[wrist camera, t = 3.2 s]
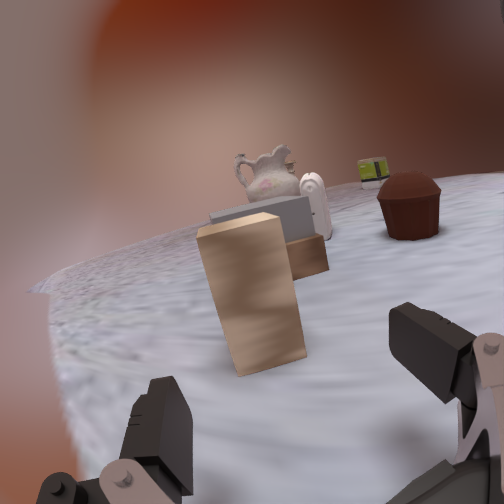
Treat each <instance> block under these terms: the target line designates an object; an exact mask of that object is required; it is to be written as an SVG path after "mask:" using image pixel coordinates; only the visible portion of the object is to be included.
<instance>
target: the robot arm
mask: <svg viewBox="0 0 504 504" xmlns="http://www.w3.org/2000/svg"><path fill="white" fill-rule="evenodd" d="M500 7H501V14H502V18H503V22H504V0H500ZM389 347H390V351H391V353H392V355H393V356H394V358H395V359H396V360H398V361H399V362H400V363H401V364H402V365H403V366H404V367H405V368H406V369H407V370H409V371H410V372H411V373H412V374H413V375H414V376H415V377H416V378H417V379H418V380H420V381H421V382H422V383H423V384H424V385H425V386H426V387H427V388H428V389H429V390H430V391H432V392H433V393H434V394H435V395H436V396H437V397H438V398H439V399H440V400H441V401H442V402H443V403H445V404H447V403H448V402H449V401H451V400H452V399H454V398H455V397H457V398H458V399H459V401H458V404H457V411H458V450H457V454H456V457H455V461H454V464H453V465H450V464H449V462H448V461H447V460H446V459H445V460H443V461H442V462H441V463H439V464H438V465H436V466H435V467H433V468H432V469H430V470H429V471H427V472H426V473H424V474H423V475H421V476H419V477H418V478H416V479H415V480H413V481H412V482H411V483H410V484H409V485H407V486H406V487H405V488H404V489H403V490H402V491H401V492H399V493H398V494H397V495H396V496H395V497H393V498H392V499H391V500H390V501H389V502H387V503H386V504H504V336H502V335H500V334H497V333H485V334H482V335H480V336H478V337H477V336H475V335H473V334H472V333H470V332H468V331H467V330H465V329H463V328H462V327H460V326H458V325H456V324H455V323H453V322H452V323H451V321H449V320H448V319H446V318H443V317H442V316H441V315H439V314H437V313H435V312H433V311H429V310H425V309H420V308H419V307H417V306H415V305H413V304H412V303H410V302H406V303H404V304H402V305H399V306H397V307H395V308H393V309H391V310H390V312H389ZM130 417H131V418H129V422H128V427H127V429H126V433H125V437H124V441H123V445H122V449H121V453H120V457H119V460H115V461H113V462H111V463H109V464H108V465H107V466H106V467H105V468H104V469H103V470H102V472H101V474H100V478H96V479H91V480H86V481H81V482H77V481H76V480H75V479H74V478H72V476H71V475H69V474H67V473H64V472H58V473H54V474H52V475H50V476H48V477H47V478H46V479H45V480H44V482H43V483H42V486H41V489H40V492H39V495H38V499H37V502H36V504H182V496H191V495H193V419H192V414H191V411H190V408H189V406H188V404H187V402H186V400H185V398H184V396H183V394H182V392H181V390H180V388H179V386H178V384H177V382H176V380H175V379H174V377H173V376H167V377H162V378H156V379H152V380H151V381H150V384H149V388H148V392H147V394H144V395H141V396H140V397H139V398H138V400H137V401H136V402H135V403H134V405H133V407H132V411H131V415H130Z"/></svg>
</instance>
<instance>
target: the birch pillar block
mask: <svg viewBox="0 0 504 504" xmlns="http://www.w3.org/2000/svg"><path fill="white" fill-rule="evenodd" d="M196 240H197V243H198V247H199V251H200V254H201V258H202V261H203V265H204V268H205V272H206V275H207V279H208V282H209V286H210V289H211V292H212V296H213V299H214V302H215V306H216V309H217V312H218V316H219V319H220V322H221V325H222V328H223V331H224V335H225V338H226V341H227V344H228V347H229V350H230V353H231V356H232V359H233V362H234V365H235V368H236V371H237V374H238V377H241V376H245V375H248V374H252V373H256V372H259V371H263V370H267V369H270V368H273V367H277V366H280V365H283V364H287V363H290V362H293V361H296V360H299V359H302V358H305V357H307V354H306V348H305V343H304V337H303V331H302V326H301V320H300V315H299V310H298V304H297V299H296V294H295V289H294V283H293V278H292V273H291V268H290V263H289V259H288V254H287V249H286V244H285V239H284V235H283V230H282V225H281V221H280V217H279V216H275V215H272V214H268V213H265V212H262V213H258V214H254V215H249V216H245V217H241V218H237V219H233V220H230V221H226V222H222V223H218V224H214V225H210V226H206V227H203V228H199V231H198V234H197V237H196Z"/></svg>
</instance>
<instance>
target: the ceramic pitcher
mask: <svg viewBox="0 0 504 504" xmlns="http://www.w3.org/2000/svg"><path fill="white" fill-rule="evenodd" d="M290 153H291V150H290V148H289V147H287V146H286V145H279V146H278V147H276V148H274V149H273V152H272V153H271V154H264V155H261V156H259V158H258V159H257V160H256V161H253V160H252V161H249V160H247V158H246V157H245V156H244V155H245V154H238V155H237V157H236V158H235V162H234V170H235V174H236V177H237V178H238V179H239V181H240V183H241V184H242V185H244V187H245V189H246V193H247V196H248V200H249V202H250V203H254V202H258V201H262V200H267V199H271V198H275V197H280V196H300V195H301V193H300V186H299V185H300V182H299V180H298V179H297V177H295V176H293V175H291V174H290V173H288V172H287V171H286V169H285V165H284V162H285V158H286V156H287V155H288V154H290ZM241 164H247V165H249V166H250V167H252V170H253V173H254V180H253V182H252V184H251V185H248V183H247V181H246V179H245V178H244V176H243V175H242V174H241V172H240V165H241Z"/></svg>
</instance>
